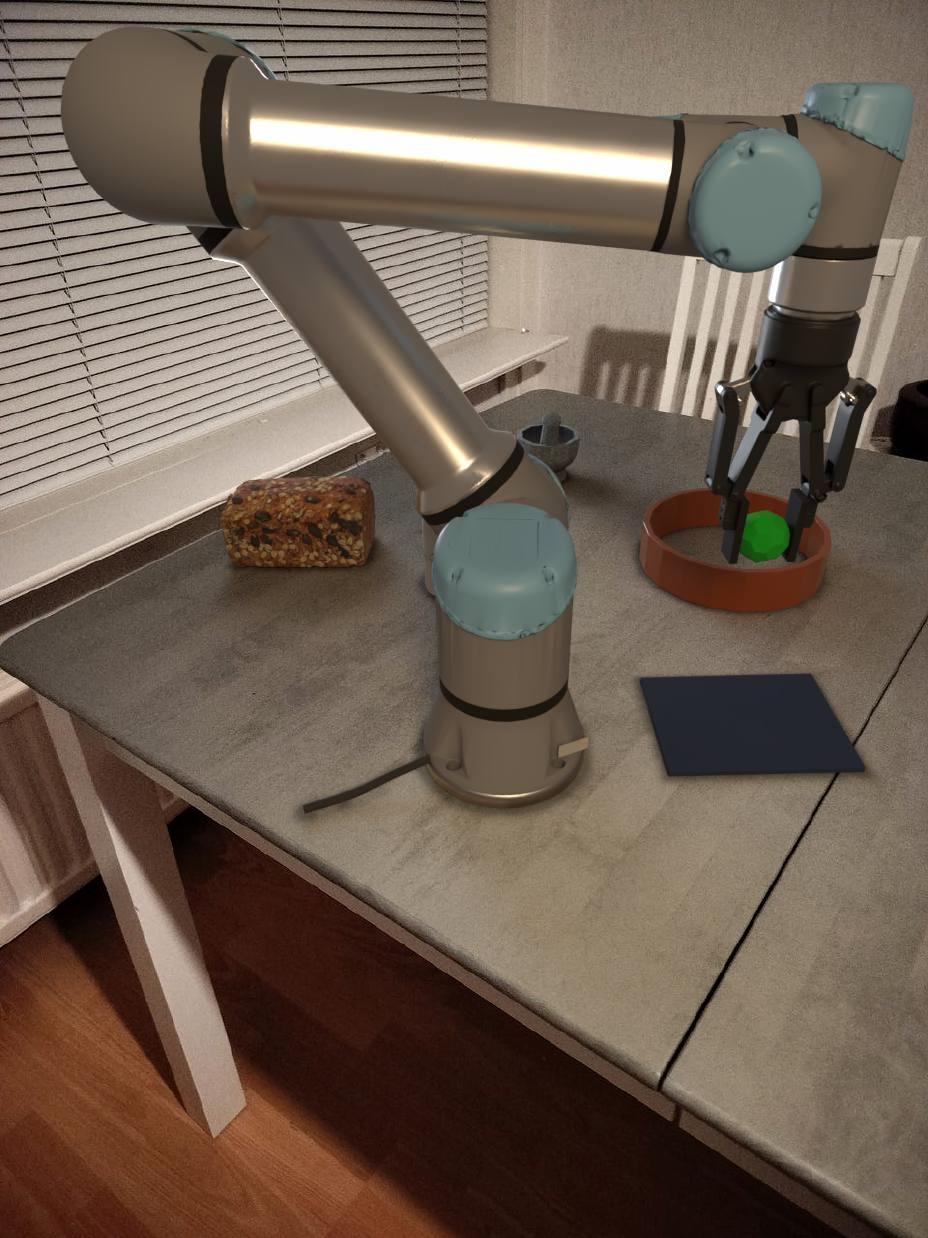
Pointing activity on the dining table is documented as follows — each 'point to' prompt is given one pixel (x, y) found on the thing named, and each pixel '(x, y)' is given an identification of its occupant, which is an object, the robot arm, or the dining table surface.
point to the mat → (747, 726)
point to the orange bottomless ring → (722, 582)
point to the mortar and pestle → (551, 443)
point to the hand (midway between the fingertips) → (757, 555)
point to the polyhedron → (764, 536)
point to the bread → (300, 522)
